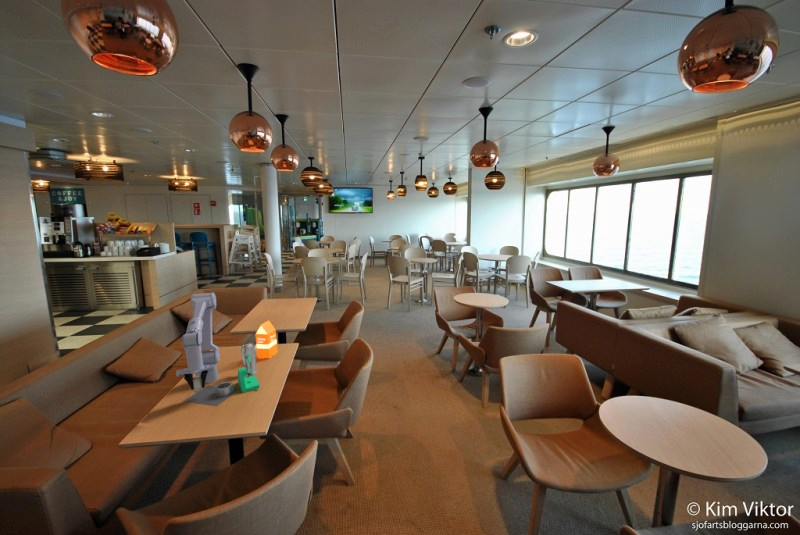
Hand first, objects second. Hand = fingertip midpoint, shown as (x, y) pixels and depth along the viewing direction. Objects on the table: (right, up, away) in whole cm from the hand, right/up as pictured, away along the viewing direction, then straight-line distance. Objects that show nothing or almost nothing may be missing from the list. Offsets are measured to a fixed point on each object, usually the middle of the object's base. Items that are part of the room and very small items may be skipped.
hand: (198, 387), depth 146 cm
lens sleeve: (+9, -5, +4) cm, 11 cm away
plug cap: (0, -1, 0) cm, 1 cm away
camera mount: (+18, -4, +11) cm, 21 cm away
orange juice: (+12, +2, +47) cm, 49 cm away
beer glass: (+12, -2, +25) cm, 28 cm away
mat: (+5, -5, +3) cm, 8 cm away
